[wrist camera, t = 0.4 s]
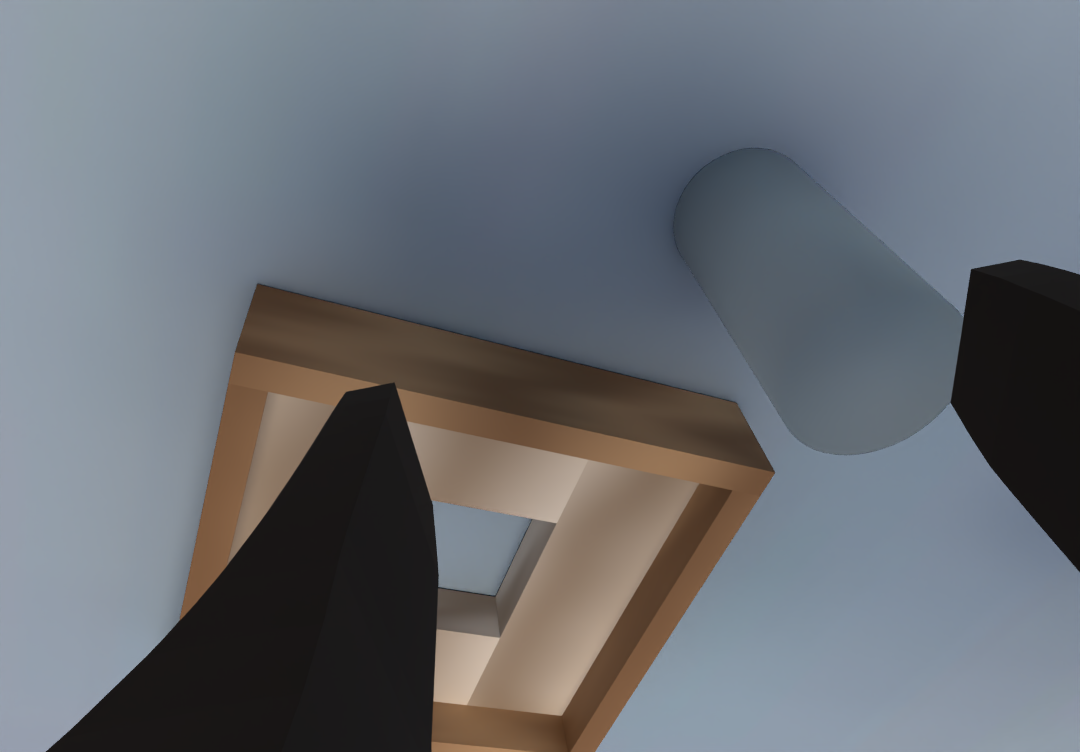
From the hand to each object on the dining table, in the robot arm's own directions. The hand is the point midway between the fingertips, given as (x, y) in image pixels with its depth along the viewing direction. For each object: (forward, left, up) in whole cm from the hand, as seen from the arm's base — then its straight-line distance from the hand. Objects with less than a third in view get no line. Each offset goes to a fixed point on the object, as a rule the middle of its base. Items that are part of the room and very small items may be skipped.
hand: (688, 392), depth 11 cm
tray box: (-1, +12, -10) cm, 15 cm away
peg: (-5, 0, -10) cm, 11 cm away
